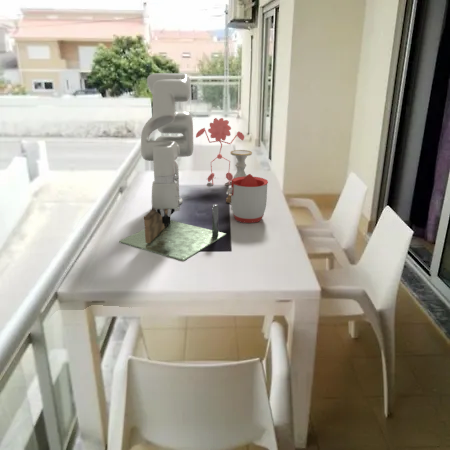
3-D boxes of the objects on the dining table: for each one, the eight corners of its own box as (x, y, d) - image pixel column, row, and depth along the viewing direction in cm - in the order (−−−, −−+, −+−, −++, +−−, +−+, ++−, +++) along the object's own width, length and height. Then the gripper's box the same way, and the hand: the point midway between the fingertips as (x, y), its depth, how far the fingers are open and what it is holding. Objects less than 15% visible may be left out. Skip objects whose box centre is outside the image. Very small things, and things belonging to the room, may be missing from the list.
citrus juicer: (224, 213, 195) (225, 169, 188) (263, 212, 197) (264, 169, 189) (228, 226, 181) (228, 179, 173) (269, 225, 182) (271, 178, 175)
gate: (163, 223, 179) (162, 200, 176) (168, 224, 179) (167, 200, 175) (145, 242, 161) (143, 216, 158) (150, 243, 161) (148, 217, 157)
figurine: (244, 184, 239) (245, 119, 228) (197, 185, 236) (196, 119, 224) (239, 177, 254) (240, 115, 242) (195, 179, 250) (194, 116, 238)
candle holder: (225, 202, 210) (225, 153, 201) (233, 196, 219) (234, 148, 211) (247, 205, 206) (248, 155, 197) (254, 198, 215) (256, 150, 207)
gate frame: (119, 242, 164) (116, 206, 159) (166, 220, 186) (164, 188, 181) (183, 261, 149) (182, 222, 144) (226, 234, 172) (226, 200, 167)
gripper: (185, 175, 164) (186, 221, 171) (145, 176, 163) (148, 221, 170) (184, 181, 157) (185, 228, 164) (142, 181, 156) (145, 229, 163)
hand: (166, 225), depth 167 cm, fingers closed
